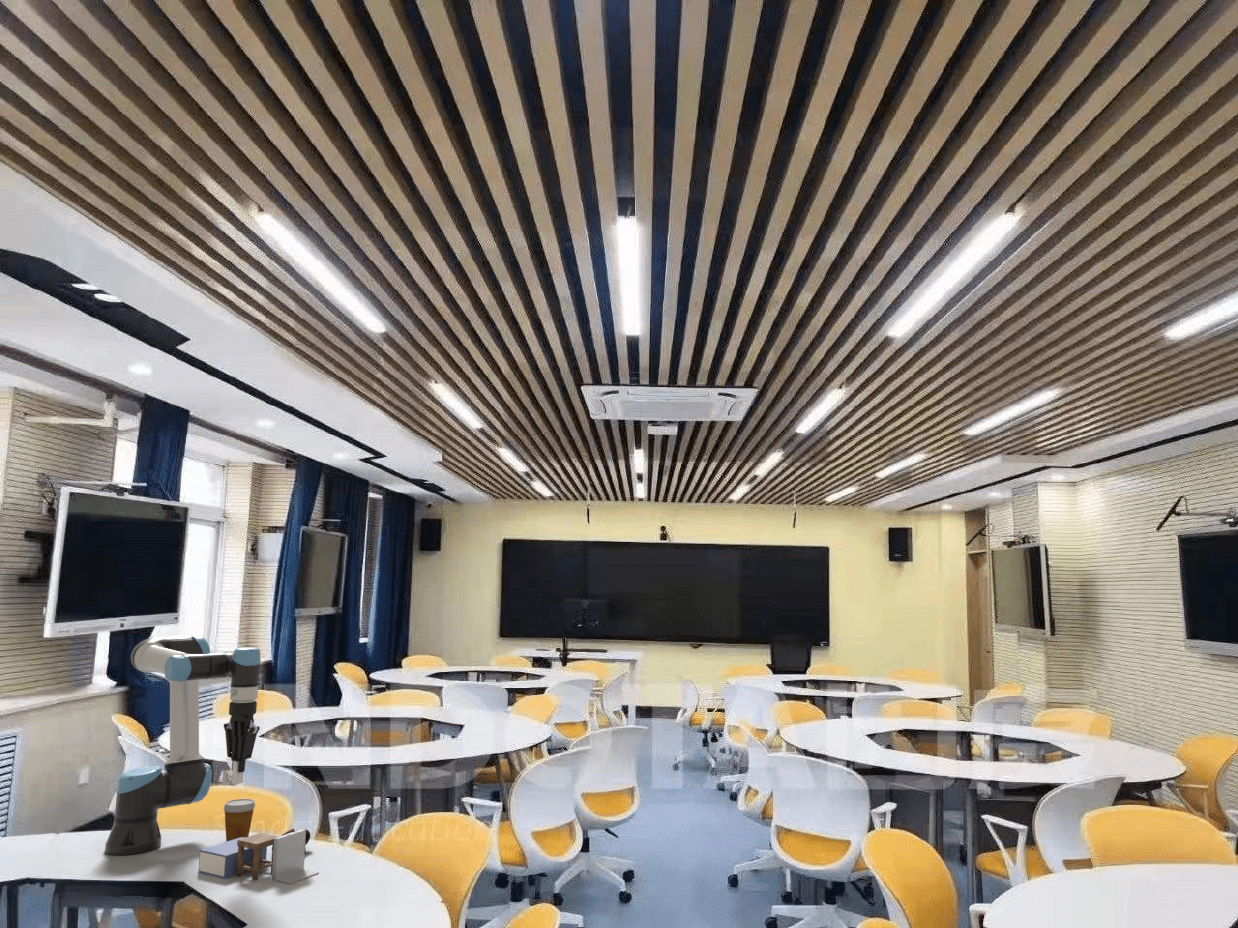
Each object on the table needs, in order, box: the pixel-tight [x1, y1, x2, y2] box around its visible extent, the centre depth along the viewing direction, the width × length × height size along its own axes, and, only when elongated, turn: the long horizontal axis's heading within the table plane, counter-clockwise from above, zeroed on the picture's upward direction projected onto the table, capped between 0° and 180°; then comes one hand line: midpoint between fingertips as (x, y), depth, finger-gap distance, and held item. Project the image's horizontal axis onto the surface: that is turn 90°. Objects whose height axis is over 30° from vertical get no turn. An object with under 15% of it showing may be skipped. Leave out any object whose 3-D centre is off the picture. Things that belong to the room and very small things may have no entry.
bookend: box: [271, 828, 320, 885], centre depth 237 cm, size 8×10×11 cm
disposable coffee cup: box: [223, 798, 256, 842], centre depth 269 cm, size 10×10×12 cm
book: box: [198, 837, 268, 879], centre depth 243 cm, size 11×14×6 cm
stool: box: [235, 832, 280, 881], centre depth 239 cm, size 10×8×8 cm
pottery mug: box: [280, 828, 311, 854], centre depth 257 cm, size 12×10×8 cm
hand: (237, 783), depth 247 cm, fingers closed
